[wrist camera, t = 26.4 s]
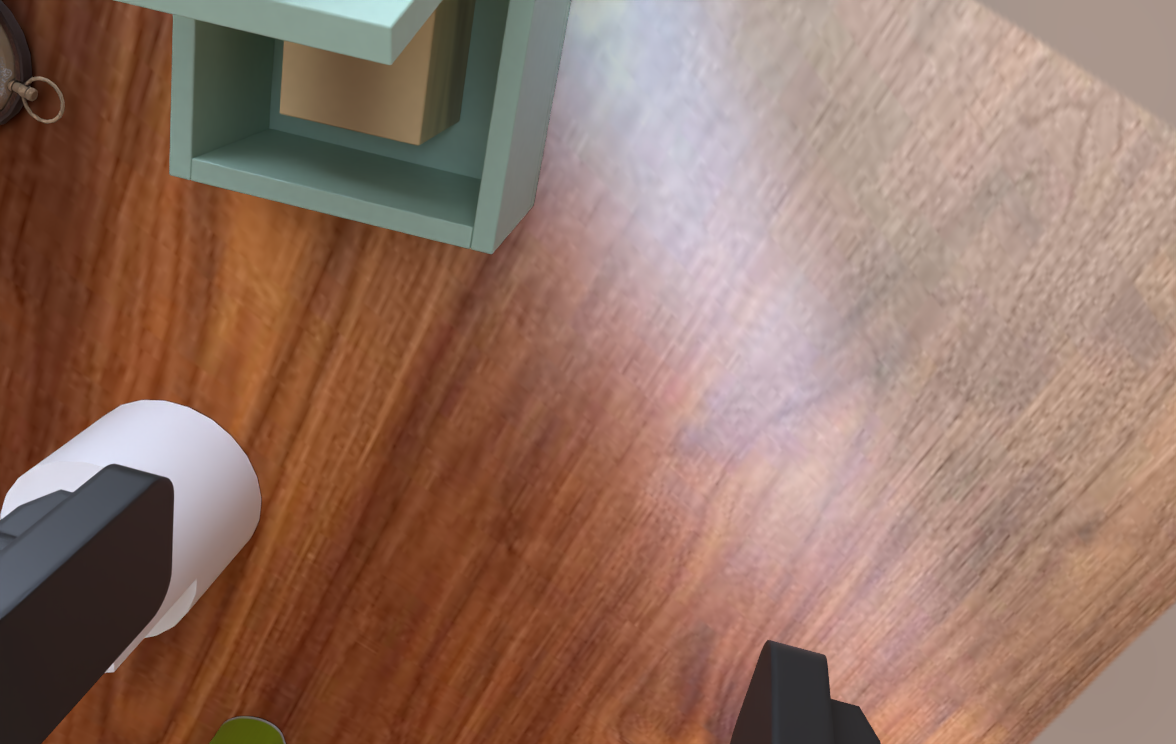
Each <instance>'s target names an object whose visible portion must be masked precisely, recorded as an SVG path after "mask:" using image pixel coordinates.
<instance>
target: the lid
mask: <svg viewBox="0 0 1176 744" xmlns="http://www.w3.org/2000/svg"><path fill="white" fill-rule="evenodd" d="M115 1H119V2H123V3H128V4H132V5H136V6H140V7H145V8H149V9H153V10H157V11H161V12H166V13H170V14H174V15H178V16H183V17H187V18H191V19H195V20H199V21H204V22H208V23H212V24H216V25H221V26H225V27H229V28H233V29H238V30H242V31H246V32H250V33H254V34H259V35H263V36H267V37H271V38H276V39H280V40H284V41H288V42H293V43H297V44H301V45H305V46H309V47H314V48H318V49H322V50H326V51H331V52H335V53H339V54H343V55H347V56H352V57H356V58H360V59H364V60H369V61H373V62H377V63H381V64H386V65H392V64H393V62H394V61H395V60H396V59H397V57H398V56H399V55H400V54H401V52H402V51H403V50H404V48H405V47H406V46H407V45H408V43H409V42H410V41H411V40H412V38H413V37H414V36H415V34H416V33H417V32H418V31H419V29H420V28H421V27H422V26H423V24H424V23H425V22H426V21H427V19H428V18H429V17H430V15H431V14H432V13H433V12H434V10H435V9H436V8H437V7H438V5H439V4H440V3H441V1H442V0H115Z"/></svg>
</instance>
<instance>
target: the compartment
mask: <svg viewBox="0 0 1176 744" xmlns="http://www.w3.org/2000/svg"><path fill="white" fill-rule="evenodd" d="M570 4H571V0H476V3H475V10H474V17H473V25H472V32H471V40H470V47H469V54H468V62H467V69H466V76H465V84H464V91H463V99H462V106H461V113H460V120H459V122H457V123H456V124H454V125H452V126H451V127H449V128H447V129H446V130H444V131H442V132H441V133H439V134H437V135H436V136H434V137H433V138H431V139H429V140H428V141H426V142H424V143H423V144H421V145H419V146H417V145H413V144H408V143H404V142H400V141H395V140H391V139H387V138H382V137H378V136H374V135H369V134H365V133H361V132H356V131H352V130H348V129H343V128H339V127H335V126H330V125H326V124H322V123H317V122H313V121H309V120H304V119H300V118H296V117H291V116H287V115H283V114H280V96H281V80H282V63H283V46H284V40H280V39H276V38H271V37H267V36H263V35H259V34H254V33H250V32H246V31H242V30H238V29H233V28H229V27H225V26H221V25H216V24H212V23H208V22H204V21H199V20H195V19H191V18H187V17H183V16H178V15H174V14H173V42H172V85H171V127H170V170H169V174H170V175H172V176H176V177H180V178H184V179H188V180H192V181H196V182H200V183H204V184H208V185H212V186H216V187H220V188H224V189H228V190H232V191H236V192H240V193H244V194H248V195H252V196H256V197H261V198H265V199H269V200H273V201H277V202H281V203H285V204H289V205H293V206H297V207H301V208H305V209H309V210H313V211H317V212H321V213H325V214H329V215H333V216H337V217H341V218H346V219H350V220H354V221H358V222H362V223H366V224H370V225H374V226H378V227H382V228H386V229H390V230H394V231H398V232H402V233H406V234H410V235H414V236H418V237H422V238H426V239H431V240H435V241H439V242H443V243H447V244H451V245H455V246H459V247H463V248H467V249H470V248H471V249H472V250H476V251H480V252H484V253H488V254H493V253H494V251H495V250H496V249H497V248H498V247H499V246H500V244H501V243H502V242H503V241H504V240H505V238H506V237H507V236H508V235H509V234H510V233H511V231H512V230H513V229H514V228H515V227H516V226H517V224H518V223H519V222H520V221H521V220H522V219H523V217H524V216H525V215H526V214H527V213H528V211H529V210H530V209H531V208H532V207H533V205H534V201H535V196H536V190H537V185H538V179H539V174H540V168H541V163H542V157H543V152H544V146H545V141H546V135H547V130H548V124H549V119H550V114H551V108H552V103H553V97H554V92H555V86H556V81H557V75H558V70H559V64H560V59H561V53H562V48H563V42H564V37H565V32H566V26H567V21H568V15H569V10H570Z"/></svg>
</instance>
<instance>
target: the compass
mask: <svg viewBox="0 0 1176 744" xmlns="http://www.w3.org/2000/svg"><path fill="white" fill-rule="evenodd" d="M37 80H40V81H44V82H47V83H48V84H50V85H51V86H52V87H53V88H54V89H55V90H56V92H57V93H58V95H59V98H60V101H61V109H60V112H59V114H58V116H56V117H55V118H54V119H50V120H46V119H42V118H40V117H38V116H37V115H35V114H34V113H33V112H32V110H31V109H30V108H29V106H28V103H27V101H26V100H29V101H34V100H35V99H36V98H37V96H38V91H37V90H36V89H34V88H31V87H30V85H31V83H32V82H33V81H37ZM23 105H24V107H25V109H26V110H27V111H28V113H29V114H30V115H31V116H32V117H33V118H35V119H36V120H38V121H40V122H43V123H47V124H48V123H55V122H56V121H58V120H59V119H60V118H61V117H62V115H63V113H64V110H65V101H64V98H63V95H62V92H61V91H60V90H59V88H58V87H57V85H56V84H54V83H53V82H52V81H50V80H49V79H47V78H43V77H40V76H38V77H32V67H31V55H30V52H29V48H28V45H27V42H26V39H25V36H24V33H23V31H22V29H21V28H20V26H19V24H18V22H17V21H16V19H15V17H14V16H13V14H12V12H11V11H10V10H9V9H8V7H7V6H6V5H5V4H4V3H3V2H2V1H1V0H0V125H2V124H5V123H6V122H8V121H9V120H10V119H11V118H13V117H14V116H15V115H16V114H18V113H19V112H20V110H21V108H22V106H23Z"/></svg>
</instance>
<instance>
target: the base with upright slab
mask: <svg viewBox="0 0 1176 744" xmlns="http://www.w3.org/2000/svg"><path fill="white" fill-rule="evenodd" d="M110 464H119V465H122V466H126V467H130V468H134V469H137V470H141V471H145V472H149V473H152V474H156V475H160V476H164V477H167V478H169V479H170V480H171V481H172V484H173V487H174V518H173V552H172V575H171V581H170V585H169V588H168V591H167V594H166V596H165V599H164V601H163V603H162V605H161V607H160V609H159V610H158V612H157V614H156V615H155V616H154V618H153V619H152V620H151V621H150V622H149V624H148V625H147V626H146V627H145V628H144V629H143V630H142V631H141V633H140V634H139V635H138V636H137V637H136V638H135V639H134V640H133V641H132V643H131V644H130V645H129V646H128V647H127V648H126V649H125V650H124V652H123V653H122V654H121V655H120V656H119V657H118V658H117V659H116V660H115V662H114V663H113V664H112V665H111V666H110V667H109V668H108V669H107V671H106V672H115V670H116V669H117V668H118V667H119V666H120V665H121V664H122V662H123V661H124V660H125V659H126V658H127V657H128V656H129V655H130V653H131V652H132V651H133V650H134V649H135V648H136V647H137V645H138V644H139V643H140V642H141V641H142V640H143V639H144V638H147V637H152V636H156V635H158V634H160V633H162V632H164V631H166V630H168V629H170V628H172V627H174V626H175V625H176V624H177V623H178V622H179V621H180V620H181V619H182V618H183V617H184V616H185V615H186V613H187V612H188V611H189V610H190V609H191V608H192V607H193V605H194V604H195V603H196V602H197V601H198V600H199V598H200V597H201V596H202V595H203V594H204V592H205V591H206V590H207V589H208V588H209V587H210V585H211V584H212V583H213V582H214V581H215V580H216V578H217V577H218V576H219V575H220V574H221V573H222V571H223V570H224V569H225V568H226V567H227V565H228V564H229V563H230V562H231V561H232V560H233V558H234V557H235V556H236V555H237V554H238V553H239V551H240V550H241V549H242V548H243V547H244V545H245V544H246V543H247V542H248V541H249V540H250V538H251V537H252V535H253V533H254V531H255V529H256V526H257V524H258V522H259V520H260V510H261V500H262V499H261V494H260V489H259V484H258V478H257V476H256V474H255V472H254V469H253V467H252V465H251V463H250V461H249V459H248V457H247V455H246V454H245V453H244V451H243V450H242V449H241V448H240V446H239V445H238V444H237V442H236V441H235V440H234V439H233V437H232V436H231V435H230V434H228V433H227V432H226V431H225V430H224V429H222V428H221V427H220V426H219V425H218V424H216V423H215V422H214V421H213V420H212V419H210V418H208V417H206V416H204V415H202V414H200V413H199V412H197V411H195V410H193V409H191V408H189V407H186V406H182V405H179V404H175V403H172V402H168V401H160V400H140V401H136V402H132V403H128V404H124V405H120V406H119V407H117V408H116V409H114V410H113V411H111V412H109V413H108V414H106V415H105V416H103V417H102V418H100V419H99V420H98V421H96V422H95V423H94V424H92V425H91V426H89V427H88V428H87V429H85V430H84V431H83V432H81V433H80V434H78V435H77V436H76V437H74V438H73V439H72V440H70V441H69V442H67V443H66V444H65V445H63V446H62V447H61V448H59V449H58V450H56V451H55V452H54V453H52V454H51V455H50V456H48V457H47V458H45V459H44V460H43V461H41V462H40V463H39V464H37V465H36V466H34V467H33V468H32V469H30V470H29V471H28V472H26V473H25V474H23V475H22V476H21V477H19V478H18V480H17V481H16V482H15V484H14V485H13V486H12V487H11V489H10V490H9V491H8V493H7V494H6V497H5V501H4V504H3V507H2V511H1V514H0V516H1V519H2V518H4V517H5V516H6V515H8V514H9V513H10V512H12V511H13V510H14V509H16V508H17V507H18V506H20V505H22V504H25V503H27V502H30V501H32V500H35V499H37V498H40V497H42V496H45V495H48V494H50V493H53V492H55V491H58V490H60V489H62V490H65V491H69V492H74V491H75V490H77V489H78V488H79V487H80V486H81V485H83V484H84V483H85V482H86V481H88V480H89V479H90V478H91V477H93V476H94V475H95V474H96V473H98V472H99V471H100V470H101V469H103V468H104V467H106V466H107V465H110Z"/></svg>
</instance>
